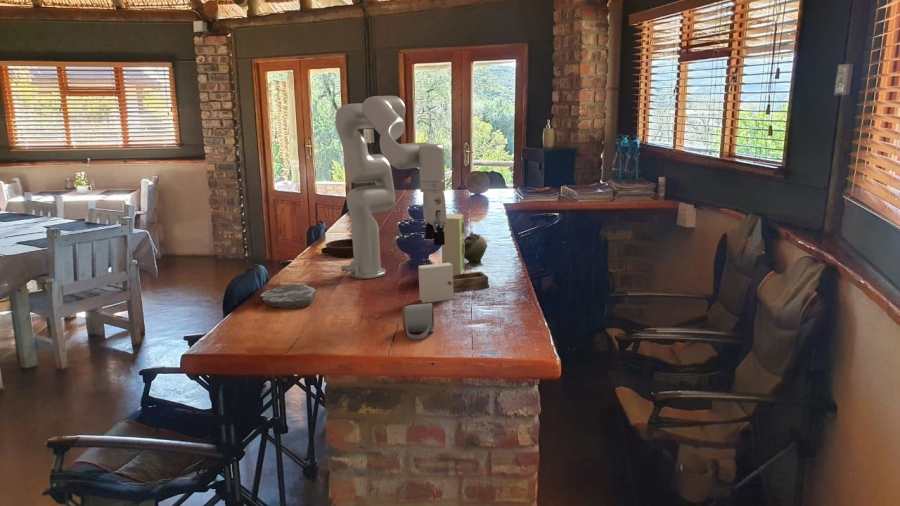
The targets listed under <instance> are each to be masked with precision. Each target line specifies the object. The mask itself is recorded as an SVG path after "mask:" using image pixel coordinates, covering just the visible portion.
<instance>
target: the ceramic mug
mask: <svg viewBox="0 0 900 506" xmlns="http://www.w3.org/2000/svg"><path fill="white" fill-rule="evenodd" d="M434 311H435V309H434V304H433V302H427V303H419V304H410V305H406V306H404V307H403V308H402V315H401V318H402V319H401V320H402V328H403V331H405V332H406V335H407V337H408V338H410V339H412V340H416V341H417V340H418V341H419V340H423V339H425V338H426V337H427V336H428V334H429V333H434V331H435V312H434ZM411 333H420V334H417V335H416V334H411Z"/></svg>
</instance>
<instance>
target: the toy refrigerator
mask: <svg viewBox="0 0 900 506" xmlns="http://www.w3.org/2000/svg"><path fill="white" fill-rule="evenodd" d="M446 216H447V223H446V224H444V237H445V244H444V245H441V263H451V264H452V265H453V275H454V274H463V273H465V258H464V253H465V243H464V240H465V237H464V236H465V234H464V233H465V232H466V230H465V221H464V214H462V213H455V214H454V213H453V214H452V213H446Z"/></svg>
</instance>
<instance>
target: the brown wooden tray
mask: <svg viewBox="0 0 900 506" xmlns="http://www.w3.org/2000/svg"><path fill="white" fill-rule="evenodd" d="M481 289H490V284H489V276H488V275H486V274H485V273H484V272H483V271H472V272H463V274H454V275H453V292H454V293H455V292H456V293H457V292H464V291H472V290H473V291H474V290H481Z"/></svg>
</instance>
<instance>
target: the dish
mask: <svg viewBox="0 0 900 506" xmlns="http://www.w3.org/2000/svg"><path fill="white" fill-rule="evenodd" d="M320 250H321V252H320V253H321V254H323V255H324V254H325V255H330V256H332V257H334V256H335V258H354V255H353V240H352V238H344V239H337V240H332V241H329V242H327V243H326V244H325V246H324V247H322V248H321V249H320Z"/></svg>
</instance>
